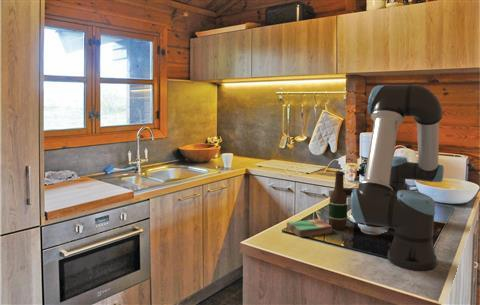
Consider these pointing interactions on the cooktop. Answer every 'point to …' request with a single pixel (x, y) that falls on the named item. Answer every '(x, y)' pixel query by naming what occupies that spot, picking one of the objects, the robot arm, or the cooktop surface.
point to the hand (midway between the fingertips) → (337, 197)
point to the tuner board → (309, 227)
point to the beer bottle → (338, 204)
